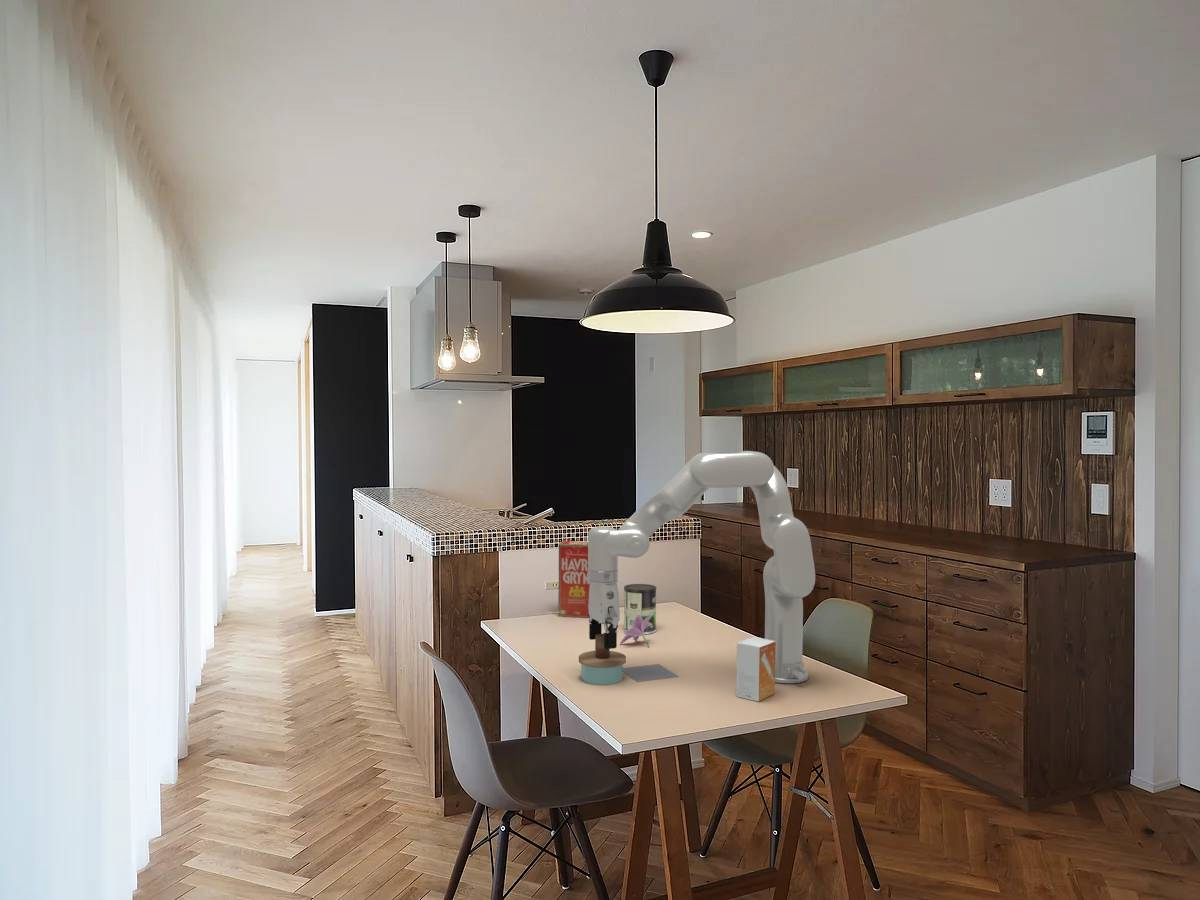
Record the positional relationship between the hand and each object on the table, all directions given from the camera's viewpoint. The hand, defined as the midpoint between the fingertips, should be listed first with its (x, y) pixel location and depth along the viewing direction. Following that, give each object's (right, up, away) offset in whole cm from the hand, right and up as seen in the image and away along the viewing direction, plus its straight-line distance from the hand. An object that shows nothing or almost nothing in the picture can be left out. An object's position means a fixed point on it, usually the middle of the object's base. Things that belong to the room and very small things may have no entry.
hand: (602, 643), depth 203 cm
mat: (+12, -9, +5) cm, 16 cm away
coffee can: (+12, -9, +52) cm, 54 cm away
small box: (+37, -10, -10) cm, 40 cm away
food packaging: (-8, -8, +74) cm, 75 cm away
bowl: (0, -9, 0) cm, 9 cm away
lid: (0, -4, 0) cm, 4 cm away
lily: (+11, -9, +35) cm, 37 cm away
